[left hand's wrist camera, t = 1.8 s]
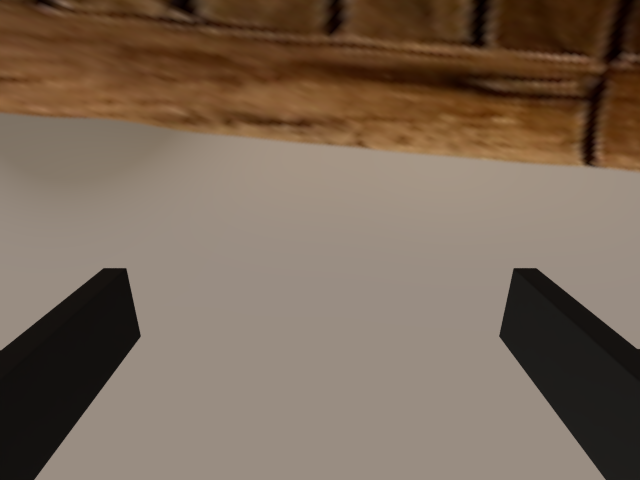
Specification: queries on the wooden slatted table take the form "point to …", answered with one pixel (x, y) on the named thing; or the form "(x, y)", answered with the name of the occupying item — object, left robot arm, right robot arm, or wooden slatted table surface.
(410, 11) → the wooden slatted table surface
